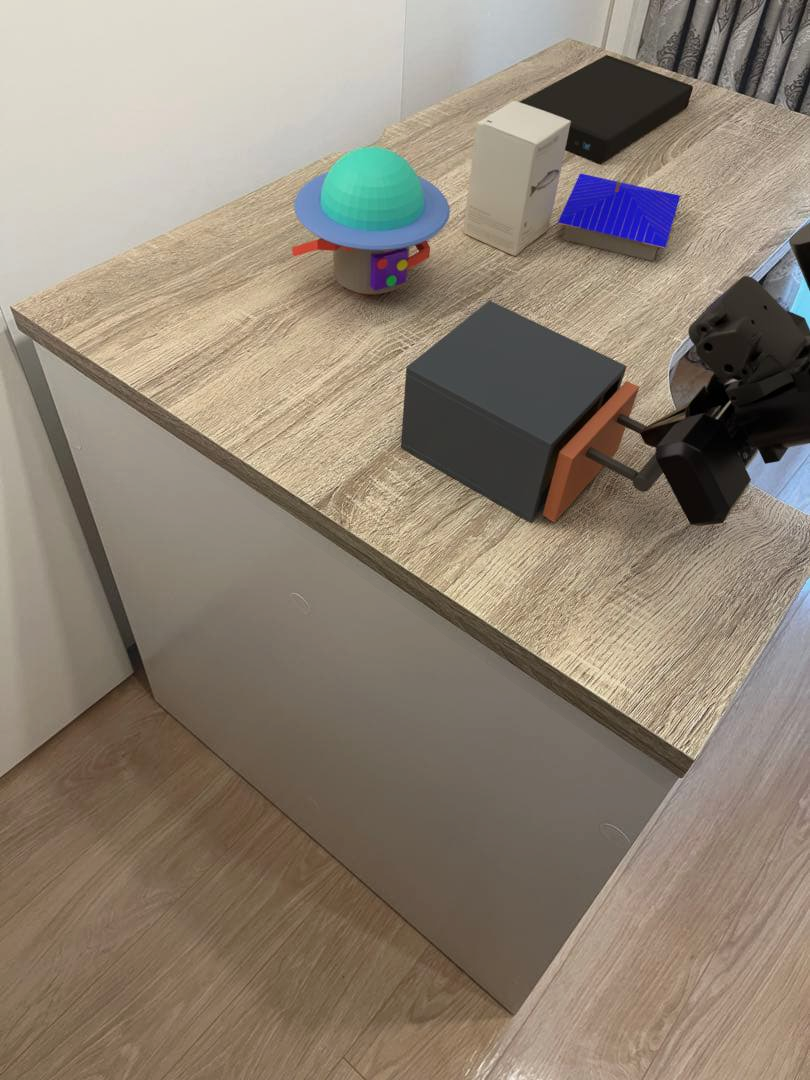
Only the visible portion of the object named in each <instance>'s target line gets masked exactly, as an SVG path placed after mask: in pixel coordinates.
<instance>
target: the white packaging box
mask: <svg viewBox="0 0 810 1080" xmlns="http://www.w3.org/2000/svg"><path fill="white" fill-rule="evenodd" d="M570 123H571V121H570V120H567V119H565V118H562V117H559V116H557V115H554V114H551V113H548V112H546V111H543V110H540V109H537V108H534V107H532V106H529V105H526V104H523V103H520V101H517V100H512V101H510V102H508V103H507V104H505V105H503V106H502V107H500V108H498V109H497V110H494V111H493V112H491V113H490V114H489V115H487V116H485V117H484V118H482V119H481V120H478V121H477V122H476V127H475V133H474V142H473V150H472V156H471V167H470V174H469V181H468V188H467V189H468V191H467V198H466V205H465V214H464V222H463V229H462V233H463V234H465V235H466V236H468V237H471V238H473V239H476V240H478V241H480V242H482V243H485V244H487V245H489V246H491V247H493V248H494V249H498V250H500V251H502V252H504V253H506V254H508V255H512V256H514V257H516V256H517V255H519V254H520V253H521V252H522V251H523V250H525V248H527V247H528V246H529V245H531V244H532V243H533V242H534V241H536V239H538V238H539V237H541V236H542V235H544V234H545V233H546V232H548V231H549V228H550V224H551V219H552V215H553V210H554V205H555V200H556V197H557V196H556V195H557V191H558V185H559V181H560V176H561V173H562V172H561V171H562V167H563V161H564V156H565V153H566V152H565V151H566V150H565V147H566V143H567V138H568V133H569V128H570Z"/></svg>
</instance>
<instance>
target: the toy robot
mask: <svg viewBox="0 0 810 1080" xmlns="http://www.w3.org/2000/svg"><path fill="white" fill-rule="evenodd" d="M293 203H294V204H293V208H294V213H295V216H296V218H297V219H298V221H299V222H300V224H302V226H304V227H305V228H306V230H307V231H309V232H310V233H312V235H314V236H316V237H318V238H317V239H315V240H311V241H308V242H304V243H301V244H299V245H295V246H293V247H292V257H298V256H301V255H305V254H308V253H312V252H314V251H328V252H329V251H331V252H332V254H333V255H332V257H333V258H332V259H333V261H332V262H333V276H334V279H335V280H336V281H337V283H339V284H340V285H341V286H342V287H344V288H346V289H348V290H350V291H352V292H356V293H358V294H359V293H360V294H362V295H367V296H375V295H381V294H386V293H389V292H392V291H395V290H397V289H399V288H400V287H402V286H403V285H404V284H405V283H407V279H408V272H409V271H408V270H410V269H412V268H414V267H415V266H417V265H418V264H420V263H422V262H424V261H425V260H428V259H429V258H430V257H431V256H430V255H431V246H430V245H429V243H428V241H429V240H430V239H432V238H433V237H435V236H436V235H437V234H439V232H441V231H442V230H443V229H444V227H445V226H446V225H447V224H448V221H449V218H450V214H451V209H450V208H451V207H450V204H449V202H448V199H447V198H446V196H445V195H444V193H443V192H442V191H441V190H440V188H438V187H437V186H436V185H434V184H433V183H432V182H430V181H428V180H427V179H425V178H423V177H421V176H420V175H418V174H417V172H416V170H415V169H414V168H413V167H412V166H411V164H410V163H409V162H408V160H406V159H405V158H404V157H402V156H401V155H399V154H398V153H397V152H395V151H394V150H390V149H387V148H384V147H380V146H364V147H359V148H355V149H353V150H351V151H349V152H347V153H345V154H344V155H342V156H341V157H340V158H338V160H337V161H336V162H334V164H333V165H332V166H331V167H330V169H329V170H328V171H327V172H323V173H321V174H319V175H317V176H315V177H313V178H312V179H310V180H309V181H308V182H306V183H305V184H303V186H302V187H301V188H300V190H299V191H298V192H297V194H296V196H295V198H294V201H293ZM410 247H415V248H416V249H417V252H415V253H414V254H411V255H410Z"/></svg>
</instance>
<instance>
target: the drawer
mask: <svg viewBox="0 0 810 1080" xmlns="http://www.w3.org/2000/svg"><path fill="white" fill-rule="evenodd" d="M639 390H640V386H639V385H636V384H634V383H632V382H630V381H627V380H626V381H625V382H623V384H621V386H620V388H619V389H618V390H617V392H616V393H615V394H614V395H613V396H612V397H611V398H610V399H609V400H608V401H607V402H606V403H605V404H604V405H603V406H602V407H601V405H602V401H603V398H604V395H605V394H604V395H603V396H602V397H601V398H600V399H599V400H598V401H597V402H596V403H595V404H594V405H593V406H592V407H591V408H590V409H589V410H588V411H587V412H586V413H585V415H584V416H583V417H582V418H581V419H580V420H579V421H578V422H577V423H576V424H575V425H574V426H573V427H572V428H571V429H570V430H569V431H568V432H567V433H566V434H565V435H564V436H563V437H562V438H561V440H560V441H559V442H558V443H557V444H556V445H555V446H554V448H553V452H552V456H551V460H550V464H549V468H548V471H547V475H546V479H545V483H544V487H543V491H544V490H545V489H546V488H547V487H548V486H549V485H550V484H551V485H550V489H549V493H548V496H547V500H546V504H545V507H544V509H543V510H542V516H543V517H544V518H547V519H548V520H550V521H551V522H553V523H555V522H556V521H557V520H558V519H559V518H560V517H561V516H562V515H563V514H564V513H565V511H566V510H567V509H569V507H570V506H571V505H572V504H573V502H575V500H576V499H577V498H578V497H579V495H580V494H581V493H582V492H583V491H584V490H585V489H586V487H587V486H588V485H589V484H590V483H591V482H592V481H593V480H594V478H595V477H597V475H598V474H599V473H600V472H601V470H602V469H603V468H604V467H605V468H607V469H609V470H611V471H612V472H614V473H616V474H618V475H619V476H622V477H623V478H626V479H627V480H630V481H631V482H632V486H633V487H634V488H635V490H637V491H638V492H641V493H646V492H649V490H650V489H651V488H653V486H654V485H655V483H656V482H657V481H658V480H659V478H660V477H661V476H662V475H663V474H664V473H663V472H662V470H661V468H660V466H659V464H658V462H657V460H656V451H655V452H654V454H652V456H651V457H650V458H649V459H648V460H647V462H646V463H645V464H644V465H643V467H641V469H640V470H639V471H637V470H636V469H635V468H632V467H630V466H628V465H626V464H624V463H623V462H620V461H619V460H617V459H615V458H613V457H614V456H615V455H616V453H617V452H618V451H619V448H620V446H621V442H622V439H623V437H624V433H625V431H626V429H629V430H631V431H633V432H635V433H637V434H639V435H640V433H641V432H642V431H643V429H644V428H645V427H646V426H647V425H645V424H643V423H641V422H639V421H637V420H635V419H633V418H632V417H630V416H631V414H632V413H631V412H632V410H633V407H634V404H635V401H636V398H637V396H638V393H639ZM543 491H542V492H543Z"/></svg>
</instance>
